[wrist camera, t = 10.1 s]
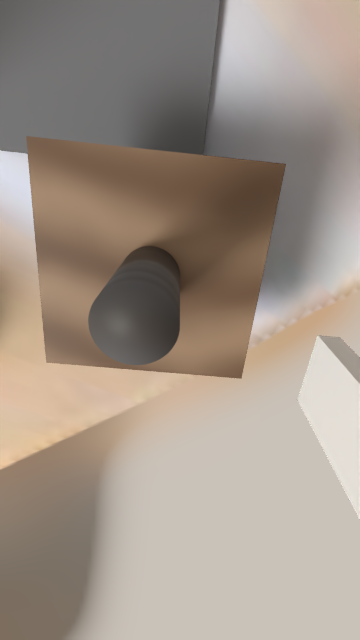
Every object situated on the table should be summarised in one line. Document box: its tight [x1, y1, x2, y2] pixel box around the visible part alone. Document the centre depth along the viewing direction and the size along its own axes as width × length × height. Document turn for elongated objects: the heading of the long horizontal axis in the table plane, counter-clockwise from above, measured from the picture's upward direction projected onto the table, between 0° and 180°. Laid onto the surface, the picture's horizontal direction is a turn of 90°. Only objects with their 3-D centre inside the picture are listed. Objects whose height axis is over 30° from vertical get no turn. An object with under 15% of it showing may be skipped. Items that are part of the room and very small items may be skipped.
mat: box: [0, 0, 220, 155], centre depth 22 cm, size 16×16×1 cm
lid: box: [26, 136, 286, 378], centre depth 18 cm, size 15×15×9 cm
